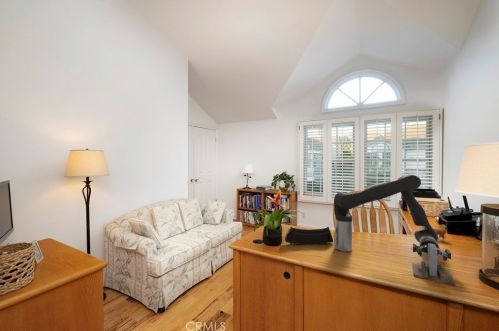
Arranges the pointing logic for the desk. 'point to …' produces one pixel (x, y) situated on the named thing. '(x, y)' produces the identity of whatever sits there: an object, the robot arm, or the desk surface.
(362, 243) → the desk surface
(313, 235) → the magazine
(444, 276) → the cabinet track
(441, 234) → the bull figurine
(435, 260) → the door panel
